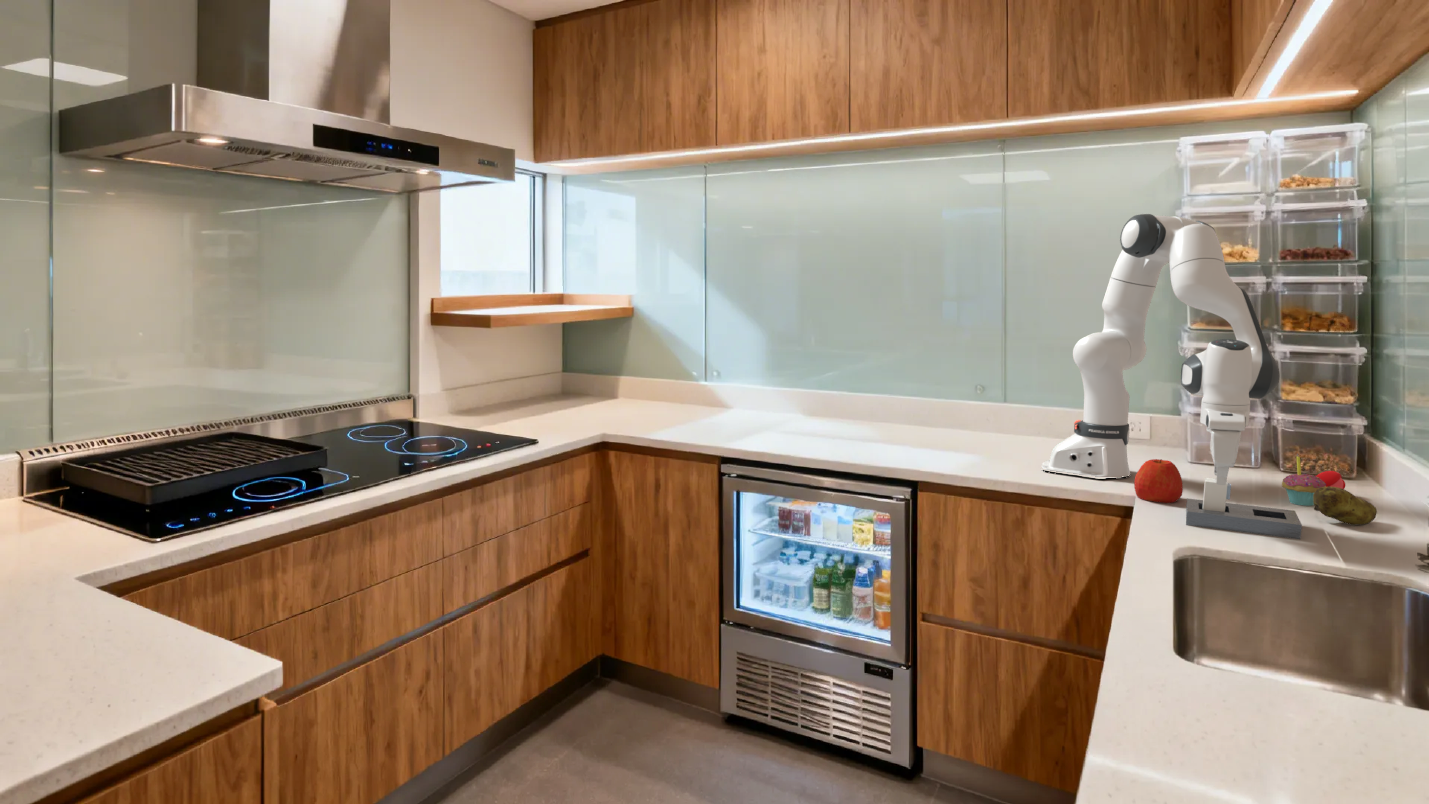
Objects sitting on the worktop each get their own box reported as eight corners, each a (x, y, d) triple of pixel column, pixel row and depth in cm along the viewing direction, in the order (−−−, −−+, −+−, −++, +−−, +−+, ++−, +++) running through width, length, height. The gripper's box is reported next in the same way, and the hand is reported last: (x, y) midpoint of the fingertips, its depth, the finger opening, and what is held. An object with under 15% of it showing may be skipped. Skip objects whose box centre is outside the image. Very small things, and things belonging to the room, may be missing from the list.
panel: (1185, 527, 173) (1187, 511, 172) (1185, 513, 183) (1186, 498, 183) (1300, 542, 163) (1301, 525, 162) (1293, 526, 173) (1294, 510, 173)
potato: (1389, 530, 170) (1393, 494, 169) (1318, 526, 174) (1322, 490, 173) (1369, 519, 178) (1373, 484, 177) (1301, 515, 182) (1305, 481, 181)
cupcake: (1291, 507, 188) (1296, 457, 187) (1272, 497, 197) (1277, 449, 195) (1332, 508, 187) (1338, 458, 185) (1311, 499, 195) (1316, 450, 194)
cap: (1330, 478, 203) (1310, 466, 203) (1352, 475, 197) (1331, 463, 197) (1320, 505, 201) (1300, 493, 201) (1341, 504, 195) (1321, 491, 195)
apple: (1140, 506, 190) (1144, 462, 188) (1126, 494, 200) (1130, 453, 198) (1188, 508, 188) (1192, 464, 186) (1171, 496, 198) (1175, 454, 196)
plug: (1201, 522, 175) (1205, 481, 173) (1201, 517, 178) (1205, 477, 177) (1227, 525, 172) (1231, 484, 171) (1226, 520, 176) (1230, 480, 174)
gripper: (1205, 409, 182) (1201, 469, 184) (1209, 421, 165) (1204, 488, 167) (1238, 410, 179) (1234, 471, 181) (1246, 424, 162) (1240, 491, 163)
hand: (1219, 479), depth 174 cm, fingers open, 8 cm apart
